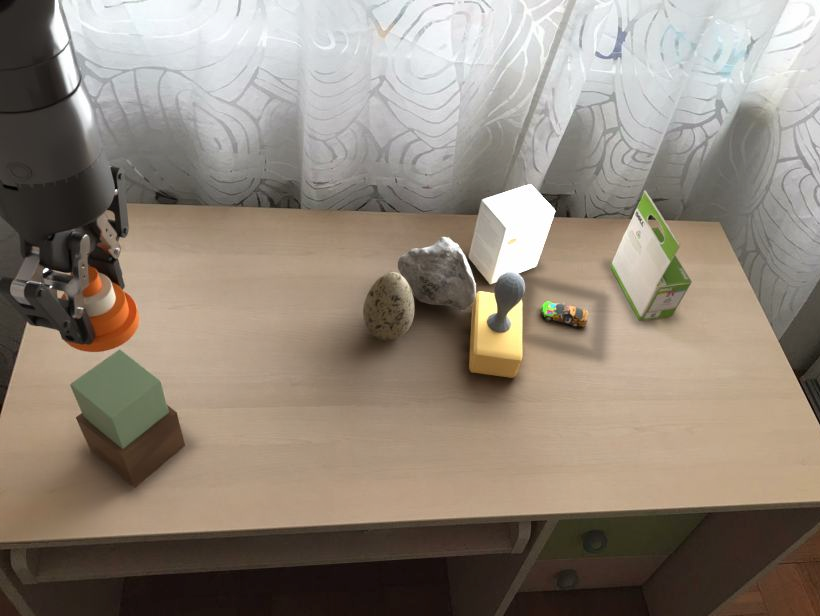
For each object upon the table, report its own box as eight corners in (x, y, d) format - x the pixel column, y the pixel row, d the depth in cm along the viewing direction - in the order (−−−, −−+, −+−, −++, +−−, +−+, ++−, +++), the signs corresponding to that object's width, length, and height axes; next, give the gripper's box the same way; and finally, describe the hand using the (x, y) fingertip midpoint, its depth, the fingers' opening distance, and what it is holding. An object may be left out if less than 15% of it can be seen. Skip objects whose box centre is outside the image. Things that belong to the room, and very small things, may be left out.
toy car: (541, 304, 97) (544, 295, 96) (586, 315, 98) (590, 306, 96) (539, 319, 96) (542, 310, 94) (584, 330, 96) (588, 321, 94)
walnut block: (134, 488, 74) (122, 456, 69) (90, 451, 75) (75, 417, 70) (185, 445, 77) (177, 412, 72) (142, 410, 79) (131, 375, 74)
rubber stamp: (471, 309, 95) (489, 241, 86) (516, 315, 96) (538, 249, 86) (468, 371, 89) (487, 306, 80) (516, 378, 89) (540, 314, 80)
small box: (514, 241, 104) (531, 182, 96) (537, 267, 102) (557, 209, 93) (466, 257, 101) (480, 198, 92) (489, 285, 98) (505, 227, 90)
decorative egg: (377, 305, 93) (384, 248, 85) (419, 327, 92) (429, 271, 84) (351, 336, 89) (356, 280, 82) (394, 359, 88) (403, 304, 80)
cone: (93, 364, 59) (76, 318, 54) (43, 324, 60) (22, 275, 56) (155, 321, 62) (143, 274, 58) (105, 284, 64) (90, 235, 59)
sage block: (122, 449, 69) (111, 418, 65) (83, 416, 70) (69, 384, 66) (169, 412, 72) (160, 380, 68) (130, 381, 73) (120, 348, 69)
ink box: (672, 318, 100) (717, 243, 89) (638, 323, 98) (679, 247, 87) (641, 262, 106) (679, 185, 95) (607, 266, 104) (642, 188, 93)
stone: (398, 321, 92) (406, 265, 84) (392, 280, 96) (399, 223, 88) (471, 319, 94) (486, 264, 86) (462, 279, 98) (476, 223, 90)
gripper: (34, 67, 51) (90, 243, 65) (-91, 201, 42) (3, 374, 56) (142, 91, 52) (175, 262, 65) (40, 229, 43) (103, 395, 56)
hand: (96, 313), depth 60 cm, fingers closed on cone, 5 cm apart
